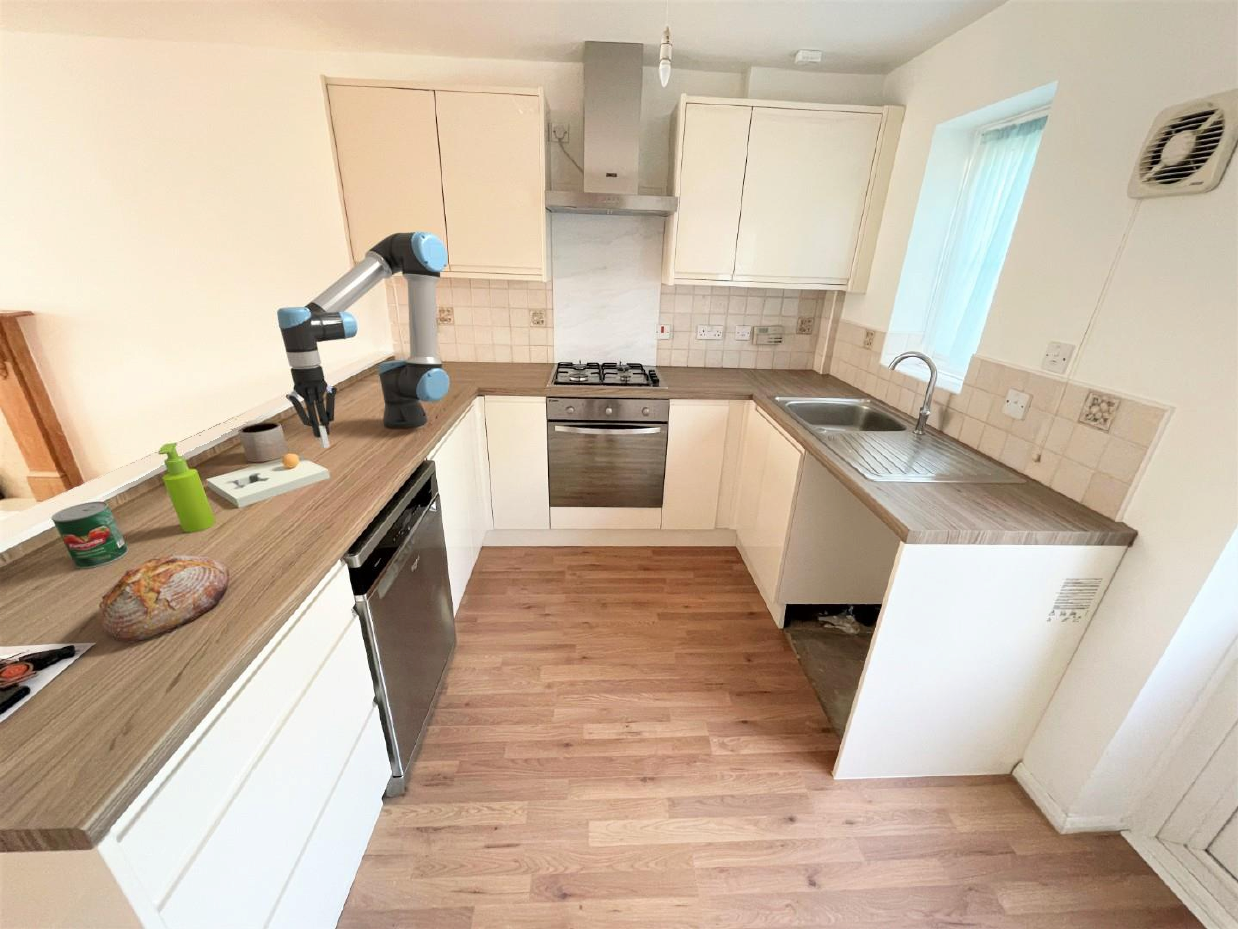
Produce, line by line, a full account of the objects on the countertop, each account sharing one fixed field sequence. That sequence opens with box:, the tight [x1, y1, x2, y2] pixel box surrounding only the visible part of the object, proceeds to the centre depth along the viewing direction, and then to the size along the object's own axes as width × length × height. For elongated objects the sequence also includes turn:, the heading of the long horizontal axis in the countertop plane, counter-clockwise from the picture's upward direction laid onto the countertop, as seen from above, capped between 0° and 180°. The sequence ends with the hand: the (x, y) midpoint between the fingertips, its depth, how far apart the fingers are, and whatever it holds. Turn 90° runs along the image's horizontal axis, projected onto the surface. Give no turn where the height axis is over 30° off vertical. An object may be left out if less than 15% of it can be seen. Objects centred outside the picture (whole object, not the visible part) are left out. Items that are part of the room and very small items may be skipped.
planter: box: [237, 421, 290, 464], centre depth 151 cm, size 11×11×10 cm
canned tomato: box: [50, 501, 129, 570], centre depth 99 cm, size 8×8×11 cm
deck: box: [205, 454, 331, 509], centre depth 134 cm, size 22×20×2 cm
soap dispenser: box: [157, 442, 217, 533], centre depth 109 cm, size 6×7×20 cm
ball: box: [282, 453, 299, 468], centre depth 137 cm, size 4×4×4 cm
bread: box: [98, 553, 230, 643], centre depth 85 cm, size 16×20×10 cm
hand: (324, 446), depth 144 cm, fingers closed
